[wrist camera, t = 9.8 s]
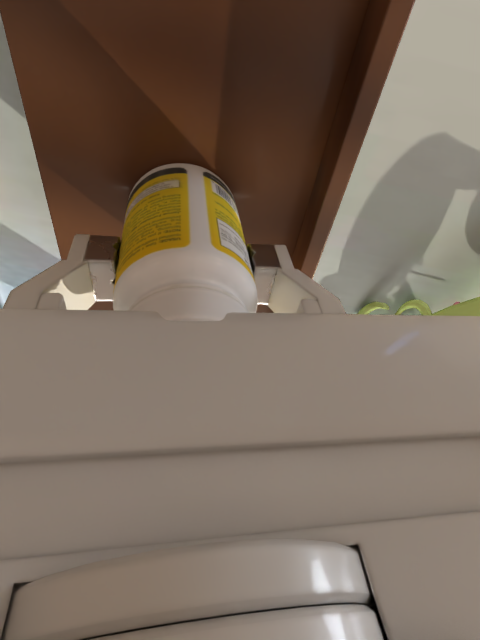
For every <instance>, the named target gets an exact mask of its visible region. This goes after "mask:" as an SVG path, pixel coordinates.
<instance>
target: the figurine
mask: <svg viewBox="0 0 480 640" xmlns="http://www.w3.org/2000/svg"><path fill="white" fill-rule="evenodd" d="M378 308H383V309H387V310H388V309H389V306H388V305H386V304H385V303H380V302H372V303H370V304H367V305H366V306H364V307H363V308H362V309H361V310H360V311H359V312H358V314H369V313H370V312H371V311H373V310H375V309H378ZM407 308H416V309H417V310H419V311H420V313H421V315H434V316H480V297H477V298H474V299H471V300H468V301H465V302H462V303H460V302H456V303H454V304H453V305H452V306H450V307H447V308H445V309H443V310H440V311H438V312H436V313H433V314H432V313H431V310H430V308H429V307H428V305H427V304H426V303H424V302H423V301H421V300H410V301H408V302H406V303H404V304H403V305H402V306H401V307H400V308H399V309H398V311H397V312H396V314H395V315H401V313H402V312H403V311H404V310H406V309H407Z"/></svg>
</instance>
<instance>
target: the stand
mask: <svg viewBox="0 0 480 640" xmlns="http://www.w3.org/2000/svg"><path fill="white" fill-rule="evenodd" d="M414 3H415V0H0V13H1V17H2V21H3V25H4V29H5V33H6V37H7V41H8V45H9V49H10V53H11V57H12V61H13V65H14V69H15V73H16V77H17V82H18V86H19V90H20V94H21V98H22V102H23V106H24V110H25V114H26V118H27V122H28V126H29V130H30V134H31V138H32V142H33V146H34V150H35V154H36V158H37V162H38V167H39V171H40V175H41V179H42V183H43V187H44V191H45V195H46V199H47V203H48V207H49V211H50V215H51V219H52V223H53V227H54V231H55V235H56V239H57V243H58V247H59V252H60V256H61V260H67V257H68V254H69V251H70V248H71V245H72V242H73V239H74V236H75V235H76V234H89V235H102V236H116V237H120V240H122V233H123V227H124V221H125V213H126V207H127V203H128V199H129V196H130V193H131V191H132V189H133V187H134V186H135V184H136V183H137V182H138V181H139V179H140V178H141V177H143V176H144V175H145V174H146V173H148V172H149V171H151V170H152V169H154V168H157V167H159V166H162V165H166V164H174V163H184V164H192V165H197V166H200V167H203V168H205V169H207V170H209V171H211V172H213V173H214V174H215V175H217V176H218V177H219V178H220V179H221V180H222V181H223V182H224V183H225V184H226V185H227V187H228V188H229V190H230V191H231V193H232V195H233V198H234V200H235V203H236V207H237V211H238V215H239V219H240V222H241V227H242V231H243V235H244V239H245V243H246V247H247V244H267V245H285V246H286V247H287V250H288V253H289V255H290V258H291V261H292V263H293V266H294V269H298V270H300V271H301V272H302V273H304V274H305V275H307V276H308V277H309V278H311V279H313V277H314V274H315V271H316V268H317V266H318V263H319V260H320V258H321V255H322V252H323V249H324V247H325V244H326V241H327V239H328V236H329V233H330V230H331V228H332V225H333V222H334V220H335V217H336V214H337V211H338V209H339V206H340V203H341V201H342V198H343V195H344V192H345V190H346V187H347V184H348V182H349V179H350V176H351V174H352V171H353V168H354V165H355V163H356V160H357V157H358V155H359V152H360V149H361V146H362V144H363V141H364V138H365V136H366V133H367V130H368V127H369V125H370V122H371V119H372V117H373V114H374V111H375V108H376V106H377V103H378V100H379V98H380V95H381V92H382V89H383V87H384V84H385V81H386V79H387V76H388V73H389V70H390V68H391V65H392V62H393V60H394V57H395V54H396V51H397V49H398V46H399V43H400V41H401V38H402V35H403V32H404V30H405V27H406V24H407V22H408V19H409V16H410V13H411V11H412V8H413V5H414ZM88 310H113V301H95V303H94V304H93V305H92V306H91V307H90V308H89V309H88ZM256 313H274V312H273V311H272V310H271V309H270V308H269V307H268V305H263V304H257V310H256Z"/></svg>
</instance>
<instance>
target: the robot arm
mask: <svg viewBox="0 0 480 640" xmlns="http://www.w3.org/2000/svg"><path fill="white" fill-rule="evenodd" d="M120 246H121V240H120V237H116V236H102V235H89V234H76V235H75V236H74V239H73V242H72V245H71V248H70V251H69V254H68V257H67V260H61V261H60V262H58V263H56V264H55V265H53V266H51V267H50V268H48V269H46V270H45V271H43V272H41V273H40V274H38V275H36V276H35V277H33V278H31V279H30V280H28V281H26V282H25V283H23V284H21V285H20V286H18V287H16V288H15V289H13V290H11V292H10V294H9V296H8V298H7V300H6V302H5V304H4V307H3V309H0V640H480V316H434V315H371V314H346V312H345V310H344V308H343V306H342V304H341V301H340V299H339V298H337V297H336V296H334V295H333V294H332V293H330V292H329V291H328V290H326V289H325V288H323V287H322V286H321V285H319V284H318V283H316V282H315V281H314V280H312V279H311V278H309V277H308V276H307V275H305V274H304V273H302V272H301V271H300V270H298V269H294V266H293V263H292V261H291V258H290V255H289V253H288V250H287V247H286V246H285V245H267V244H247V252H248V255H249V260H250V264H251V268H252V272H253V276H254V280H255V284H256V289H257V298H258V303H257V304H263V305H268V307H269V308H270V309H271V310H272V311H273V312H274V313H245V312H231V313H227V314H226V315H225V317H224V319H222V320H220V321H170V320H166V319H164V318H163V317H162V316H161V315H160V314H159V313H158V312H155V311H117V310H88V309H89V308H90V307H91V306H92V305H93V304H94V303H95V301H113V291H114V284H115V278H116V271H117V265H118V259H119V252H120Z"/></svg>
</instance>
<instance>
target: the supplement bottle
mask: <svg viewBox="0 0 480 640" xmlns="http://www.w3.org/2000/svg"><path fill="white" fill-rule="evenodd" d="M257 303H258V298H257V289H256V284H255V280H254V276H253V272H252V268H251V264H250V260H249V255H248V252H247V247H246V243H245V239H244V235H243V231H242V227H241V222H240V219H239V215H238V211H237V207H236V203H235V200H234V198H233V195H232V193H231V191H230V190H229V188H228V187H227V185H226V184H225V183H224V182H223V181H222V180H221V179H220V178H219V177H218V176H217V175H215V174H214V173H213V172H211V171H209V170H207V169H205V168H203V167H200V166H197V165H192V164H184V163H174V164H166V165H162V166H159V167H157V168H154V169H152V170H151V171H149V172H148V173H146V174H145V175H144V176H143V177H141V178H140V179H139V181H138V182H137V183H136V184H135V186H134V187H133V189H132V191H131V193H130V196H129V199H128V203H127V207H126V213H125V221H124V227H123V233H122V240H121V246H120V252H119V259H118V265H117V271H116V278H115V284H114V291H113V310H117V311H155V312H158V313H159V314H160V315H161V316H162V317H163V318H164V319H166V320H170V321H220V320H222V319H224V317H225V315H226V314H227V313H231V312H245V313H256V310H257Z"/></svg>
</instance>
